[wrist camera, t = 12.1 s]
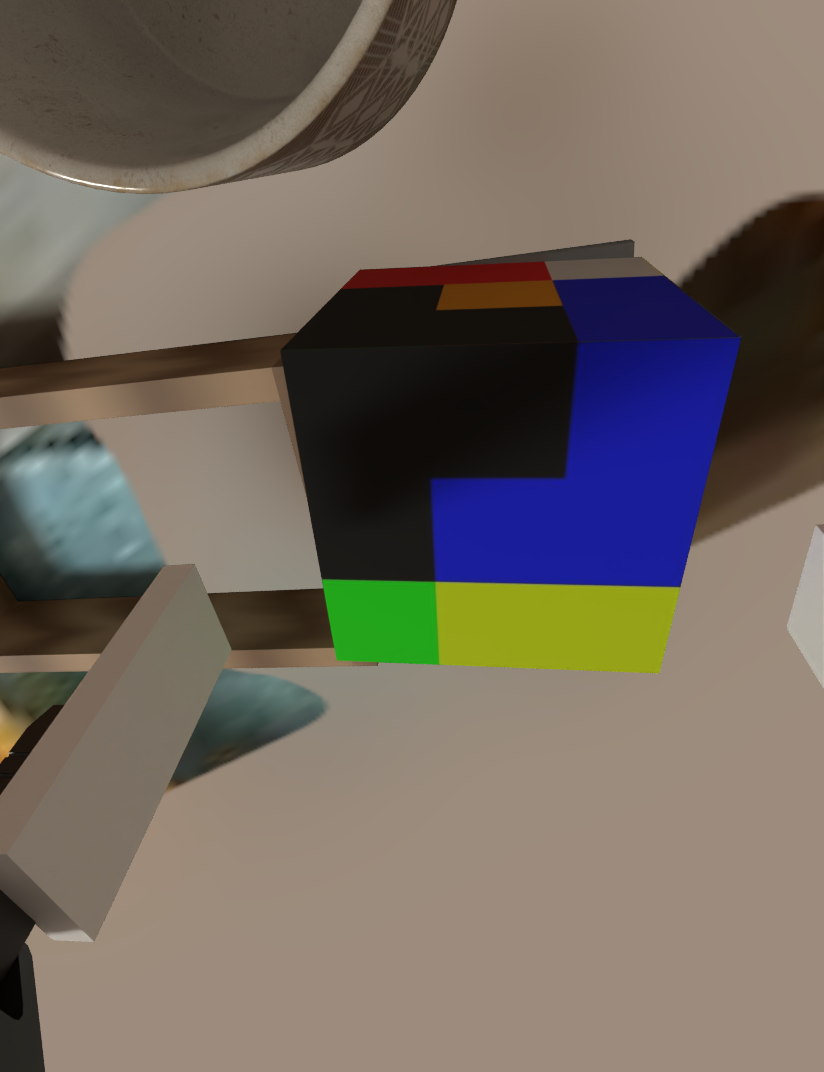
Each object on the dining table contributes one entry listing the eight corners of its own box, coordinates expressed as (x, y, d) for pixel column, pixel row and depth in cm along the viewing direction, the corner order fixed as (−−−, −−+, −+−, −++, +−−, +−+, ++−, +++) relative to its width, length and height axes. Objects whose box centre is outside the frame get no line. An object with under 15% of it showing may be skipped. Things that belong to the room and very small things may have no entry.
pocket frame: (10, 617, 36) (-46, 673, 32) (-146, 386, 28) (-244, 424, 24) (391, 603, 32) (377, 665, 28) (333, 328, 24) (304, 363, 20)
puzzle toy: (641, 256, 21) (741, 337, 12) (606, 504, 26) (659, 673, 18) (360, 269, 22) (279, 350, 14) (383, 502, 27) (336, 660, 19)
